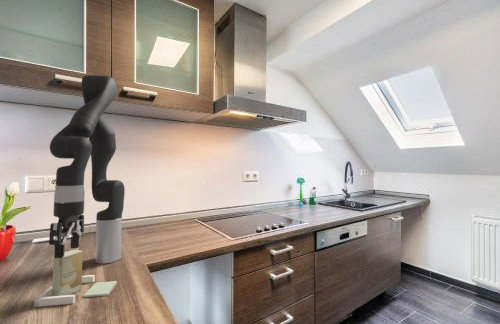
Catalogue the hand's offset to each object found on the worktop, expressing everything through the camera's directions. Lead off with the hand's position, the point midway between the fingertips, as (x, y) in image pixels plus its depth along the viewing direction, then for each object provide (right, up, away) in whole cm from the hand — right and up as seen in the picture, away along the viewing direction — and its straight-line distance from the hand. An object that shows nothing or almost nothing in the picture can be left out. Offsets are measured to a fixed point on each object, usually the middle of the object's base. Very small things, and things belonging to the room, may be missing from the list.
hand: (67, 252), depth 73 cm
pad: (+9, -13, +2) cm, 16 cm away
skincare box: (0, -13, 0) cm, 13 cm away
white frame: (0, -12, 0) cm, 12 cm away
